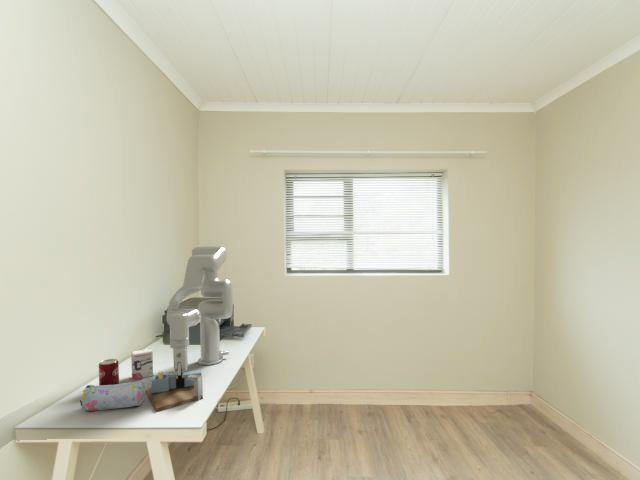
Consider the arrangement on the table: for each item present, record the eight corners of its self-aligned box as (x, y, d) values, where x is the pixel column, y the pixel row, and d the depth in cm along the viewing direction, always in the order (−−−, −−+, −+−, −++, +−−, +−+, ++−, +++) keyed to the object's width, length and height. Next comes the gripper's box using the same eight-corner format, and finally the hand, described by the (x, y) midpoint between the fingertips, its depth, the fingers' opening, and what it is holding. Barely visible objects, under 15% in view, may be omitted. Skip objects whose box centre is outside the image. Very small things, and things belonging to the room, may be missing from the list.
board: (187, 381, 158) (187, 378, 158) (202, 398, 140) (202, 395, 140) (145, 391, 148) (145, 388, 148) (156, 411, 130) (156, 408, 130)
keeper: (187, 398, 140) (186, 376, 140) (191, 395, 143) (190, 374, 143) (198, 400, 139) (198, 378, 139) (202, 397, 141) (202, 375, 141)
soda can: (98, 394, 146) (97, 365, 146) (100, 388, 152) (99, 360, 152) (118, 390, 149) (118, 362, 149) (119, 384, 156) (118, 357, 156)
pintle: (163, 391, 148) (163, 371, 148) (164, 393, 146) (164, 373, 146) (158, 392, 146) (157, 373, 146) (159, 394, 145) (158, 374, 145)
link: (151, 393, 142) (151, 381, 142) (153, 387, 148) (153, 375, 148) (201, 386, 148) (201, 374, 148) (201, 380, 155) (201, 368, 154)
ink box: (132, 380, 160) (132, 354, 160) (131, 376, 164) (131, 351, 164) (153, 375, 165) (152, 350, 165) (151, 372, 169) (151, 348, 169)
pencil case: (78, 415, 129) (78, 389, 129) (91, 404, 138) (90, 379, 138) (138, 410, 132) (138, 385, 131) (147, 400, 140) (147, 376, 140)
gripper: (188, 346, 142) (189, 392, 142) (189, 336, 158) (190, 377, 158) (168, 349, 140) (169, 395, 140) (171, 338, 155) (172, 379, 155)
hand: (180, 385), depth 149 cm, fingers closed on link, 3 cm apart
